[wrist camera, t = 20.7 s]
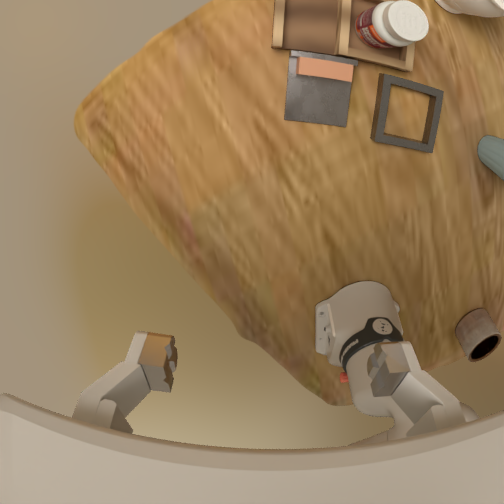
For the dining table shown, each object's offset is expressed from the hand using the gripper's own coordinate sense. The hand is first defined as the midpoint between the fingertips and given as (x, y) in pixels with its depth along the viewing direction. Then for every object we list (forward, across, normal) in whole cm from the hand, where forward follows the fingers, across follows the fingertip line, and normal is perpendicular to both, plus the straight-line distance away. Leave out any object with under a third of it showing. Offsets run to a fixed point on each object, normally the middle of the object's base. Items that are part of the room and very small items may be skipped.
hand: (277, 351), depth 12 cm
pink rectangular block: (+37, -7, -11) cm, 39 cm away
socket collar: (+37, -21, -7) cm, 43 cm away
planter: (+37, -58, +38) cm, 79 cm away
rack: (+37, -10, -19) cm, 43 cm away
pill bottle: (+36, -14, -19) cm, 43 cm away
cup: (+37, -40, -5) cm, 55 cm away
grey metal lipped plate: (+37, -7, -8) cm, 39 cm away
